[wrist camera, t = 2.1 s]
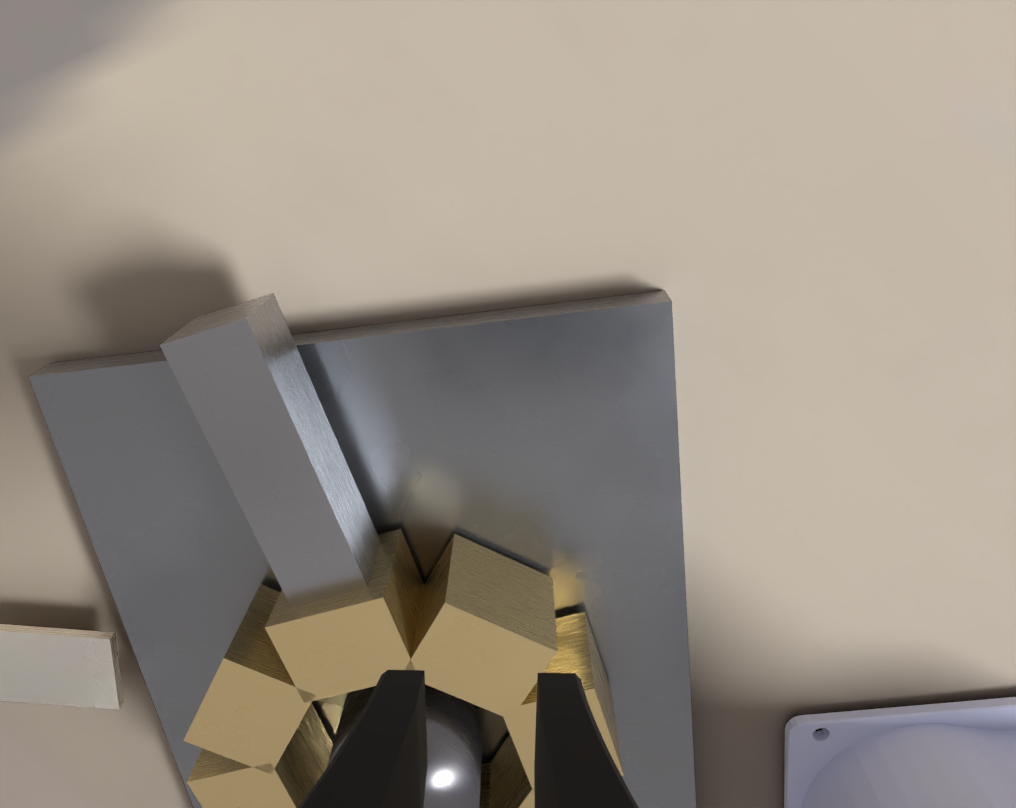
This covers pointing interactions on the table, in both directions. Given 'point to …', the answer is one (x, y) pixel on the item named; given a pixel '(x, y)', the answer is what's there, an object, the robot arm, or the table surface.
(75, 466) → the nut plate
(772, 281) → the table surface
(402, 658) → the ring nut
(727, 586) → the table surface
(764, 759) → the table surface
